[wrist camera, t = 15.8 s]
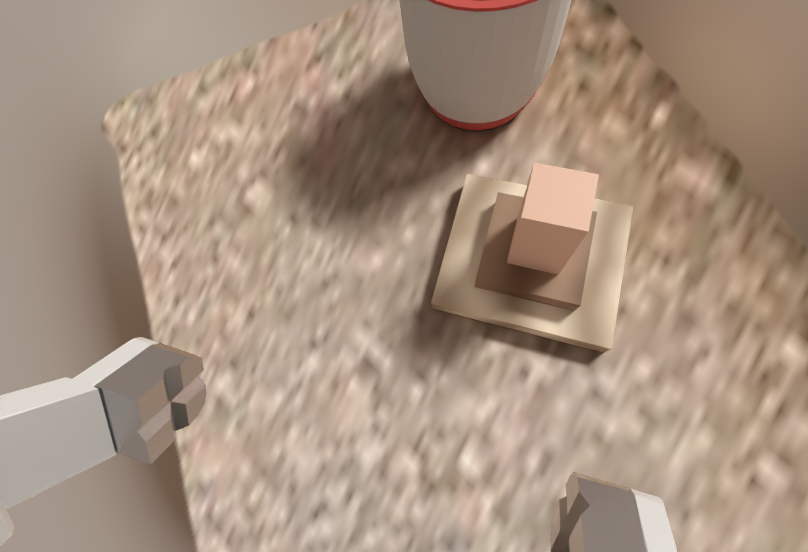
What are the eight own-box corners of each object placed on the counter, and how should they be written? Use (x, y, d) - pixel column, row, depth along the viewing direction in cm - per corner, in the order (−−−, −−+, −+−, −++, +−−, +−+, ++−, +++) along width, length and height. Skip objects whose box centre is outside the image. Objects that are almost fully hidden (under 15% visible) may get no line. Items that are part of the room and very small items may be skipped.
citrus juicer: (537, 19, 52) (584, -209, 34) (556, 142, 47) (625, -49, 28) (407, 33, 54) (382, -178, 35) (410, 153, 48) (382, -21, 29)
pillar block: (567, 228, 39) (599, 174, 31) (558, 274, 38) (588, 231, 29) (517, 218, 40) (534, 162, 32) (506, 263, 39) (521, 217, 30)
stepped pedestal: (625, 215, 43) (641, 195, 39) (603, 352, 39) (619, 345, 35) (466, 184, 46) (467, 162, 42) (431, 308, 42) (429, 297, 38)
